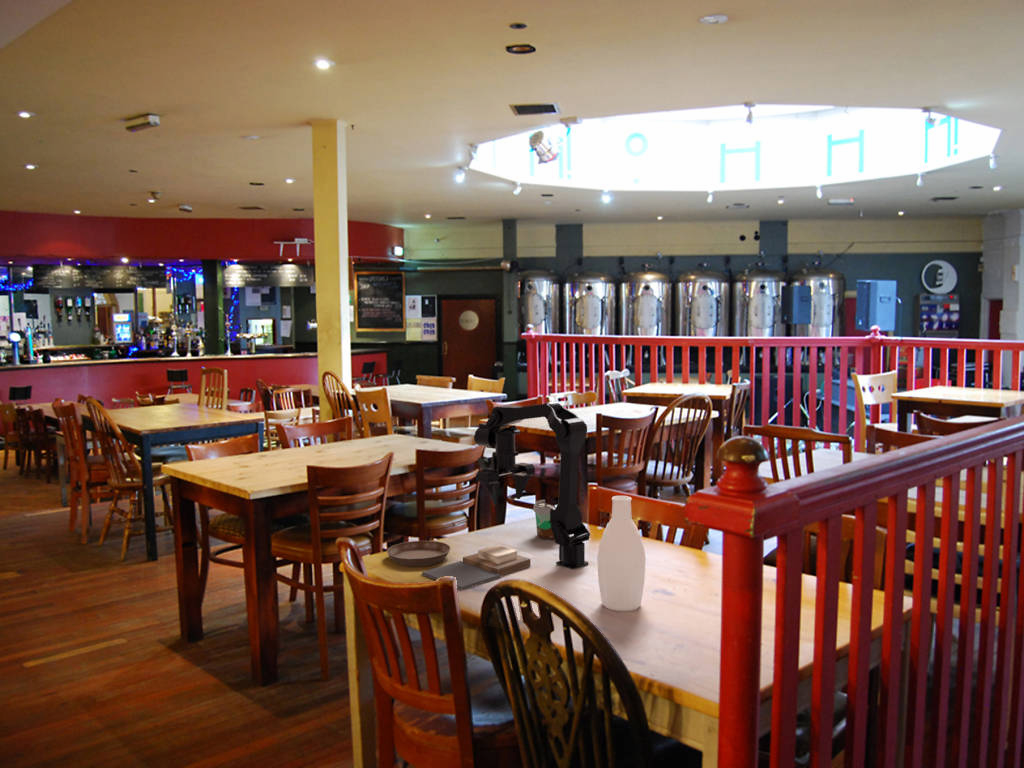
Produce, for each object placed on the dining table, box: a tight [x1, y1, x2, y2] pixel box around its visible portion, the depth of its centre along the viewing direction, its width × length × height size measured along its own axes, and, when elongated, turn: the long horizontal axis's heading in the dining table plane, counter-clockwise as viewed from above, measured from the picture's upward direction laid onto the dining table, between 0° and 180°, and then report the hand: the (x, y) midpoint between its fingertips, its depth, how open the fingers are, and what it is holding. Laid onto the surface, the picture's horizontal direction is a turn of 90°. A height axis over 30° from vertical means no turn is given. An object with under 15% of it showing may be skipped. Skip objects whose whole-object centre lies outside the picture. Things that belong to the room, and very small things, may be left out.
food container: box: [532, 499, 556, 541], centre depth 241 cm, size 12×6×10 cm, turn 25°
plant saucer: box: [386, 540, 452, 567], centre depth 222 cm, size 18×18×3 cm
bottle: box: [597, 495, 647, 612], centre depth 184 cm, size 11×11×25 cm
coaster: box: [477, 544, 518, 564], centre depth 215 cm, size 8×7×2 cm
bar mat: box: [421, 560, 501, 591], centre depth 206 cm, size 16×13×1 cm
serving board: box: [462, 553, 531, 577], centre depth 215 cm, size 14×12×2 cm
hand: (506, 501), depth 231 cm, fingers open, 9 cm apart
